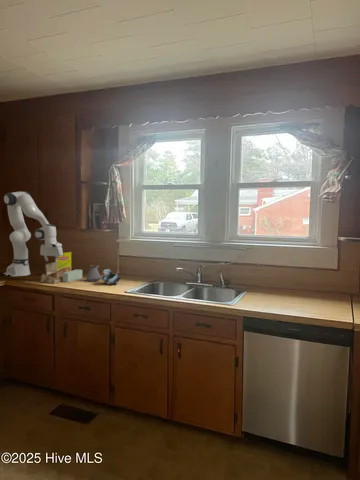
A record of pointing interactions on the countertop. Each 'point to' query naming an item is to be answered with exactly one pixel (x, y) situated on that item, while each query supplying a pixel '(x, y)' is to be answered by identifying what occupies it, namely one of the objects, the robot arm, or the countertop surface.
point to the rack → (50, 279)
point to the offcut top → (57, 274)
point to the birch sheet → (51, 268)
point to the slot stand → (72, 275)
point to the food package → (64, 262)
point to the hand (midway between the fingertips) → (51, 261)
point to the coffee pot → (94, 273)
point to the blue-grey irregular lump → (109, 277)
